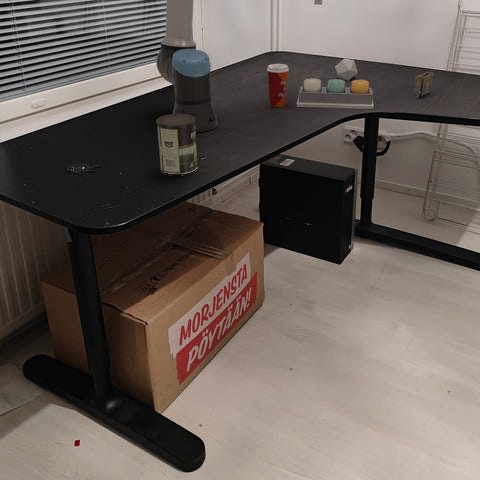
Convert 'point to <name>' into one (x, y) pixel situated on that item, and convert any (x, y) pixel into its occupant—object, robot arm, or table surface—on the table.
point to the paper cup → (277, 84)
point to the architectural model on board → (422, 83)
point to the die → (346, 69)
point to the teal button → (336, 86)
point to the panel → (335, 99)
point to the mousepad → (81, 168)
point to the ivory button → (312, 85)
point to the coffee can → (177, 143)
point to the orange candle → (360, 86)
